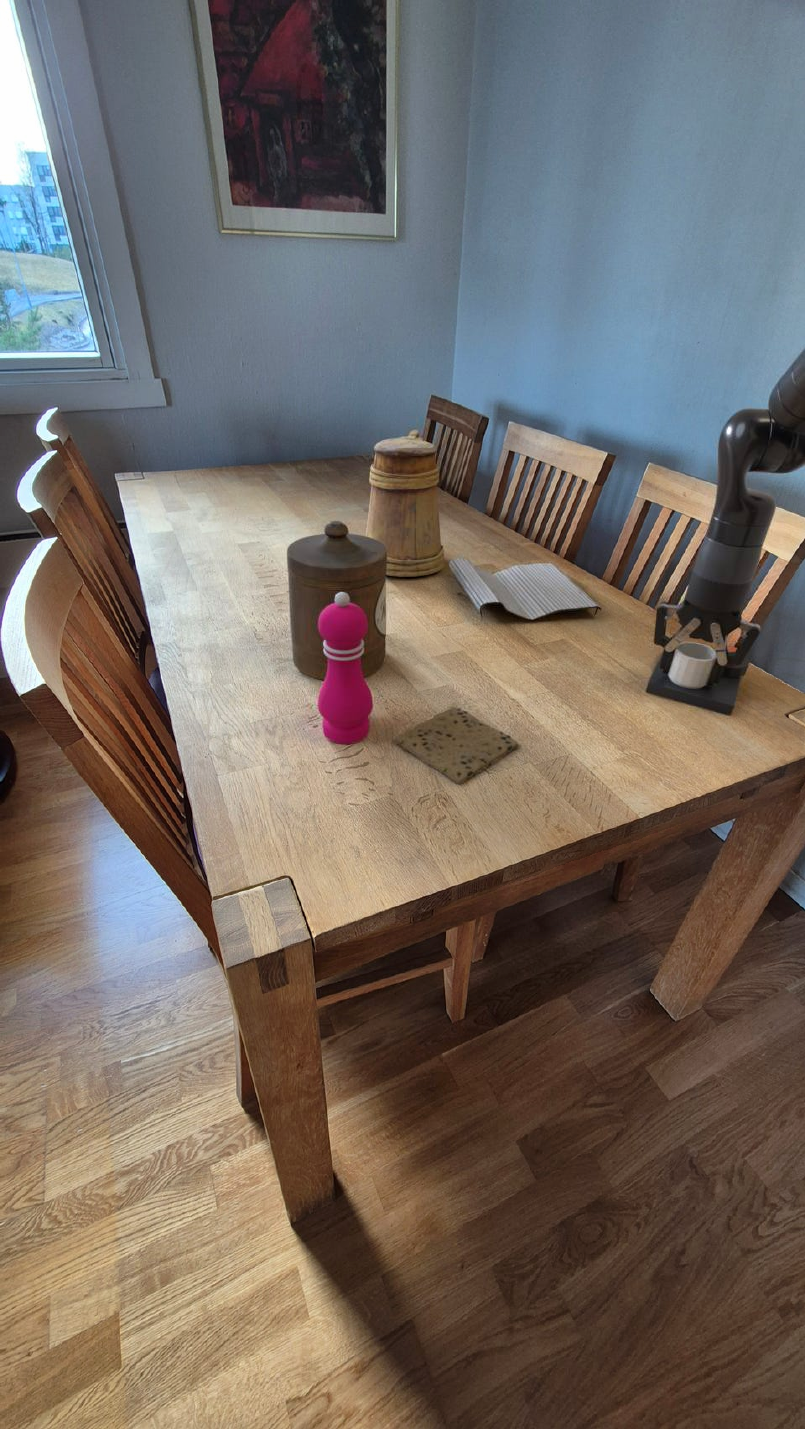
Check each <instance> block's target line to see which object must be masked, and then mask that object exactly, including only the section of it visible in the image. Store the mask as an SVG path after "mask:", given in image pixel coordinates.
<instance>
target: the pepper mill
mask: <svg viewBox="0 0 805 1429" xmlns="http://www.w3.org/2000/svg"><path fill="white" fill-rule="evenodd" d="M349 602H350V598H349V596H348V594H347V593H345V592H339V593H338V594H337V595H336V596H335V603H333V604H331V605H328V606H327V607H326V608H325V609H324V610H323V611H322V612H321V614H320V616H319V621H318V629H319V632H320V635H321V636H322V638H323V639H325V640H324V642H323V646H324V650H323V651H324V654H325V655H326V656H327V657H328V670H327V674H326V678H325V680H323V682H322V685H321V687H320V690H319V694H318V698H317V708H318V713H319V714H320V716H321V717H322V718H323V719H322V732H323V735H324V737H325V738H327V739H328V740H329V741H331V742H333V743H336V744H340V745H348V744H354V743H355V744H356V743H357V742H360V741H362V740H364V739H365V738H366V737H368V735H369V733H370V717H369V716H370V715H371V713H372V712H373V708H374V702H373V700H374V699H373V694H372V691H371V688H370V687H369V685H368V683H367V681H366V679H365V677H363V674H362V671H361V663H360V658H361V655H362V654H363V652H364V647H363V646H364V641H363V638H364V636H365V635H366V633H367V629H368V622H367V617H366V615H365V613H364V611H363V610H362V609H361V608H360V607H359V606H357V605H355V604H353V603H349Z"/></svg>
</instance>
